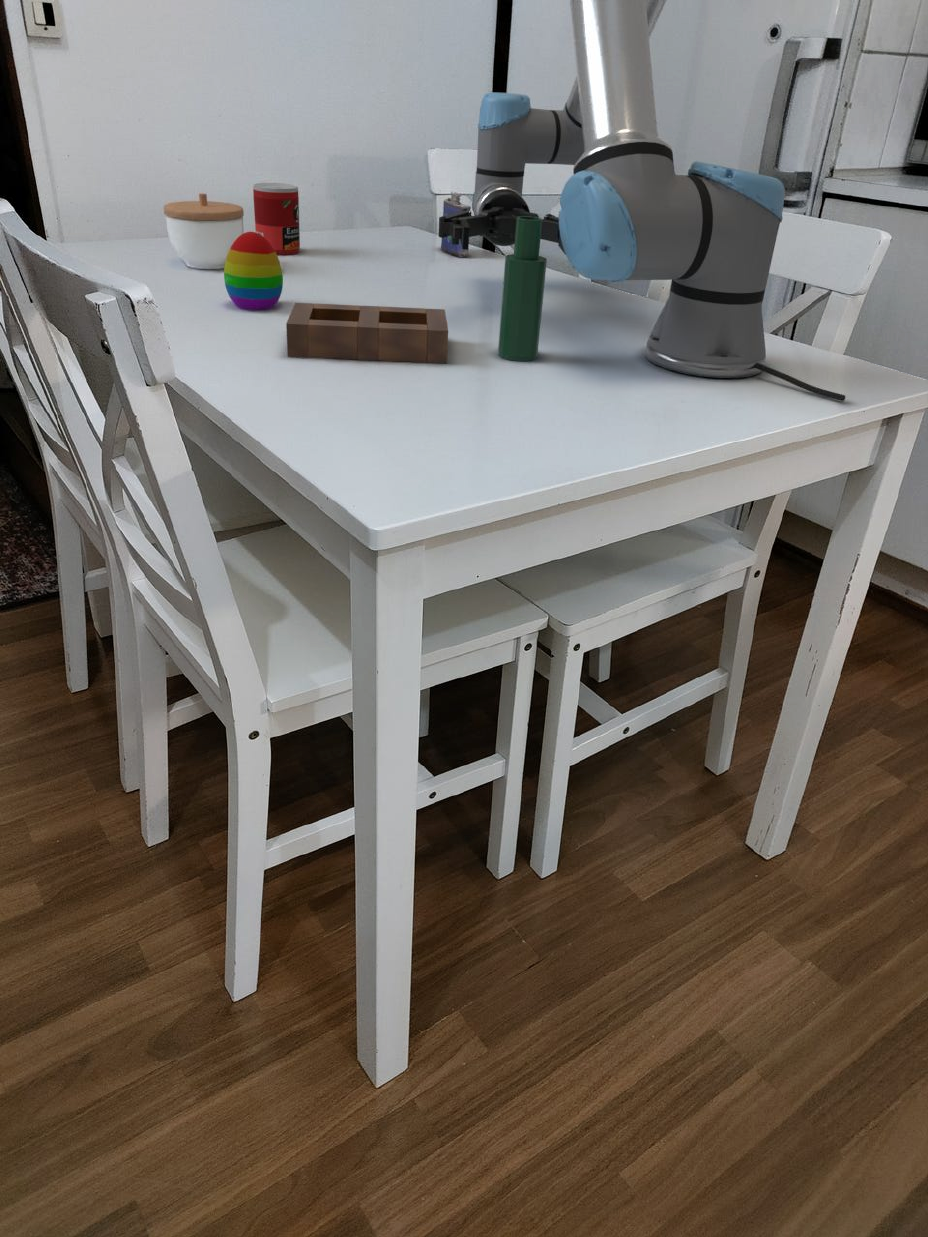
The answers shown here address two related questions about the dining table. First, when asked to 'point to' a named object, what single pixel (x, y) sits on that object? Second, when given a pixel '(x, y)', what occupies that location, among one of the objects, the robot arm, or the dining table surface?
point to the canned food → (278, 216)
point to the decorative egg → (253, 273)
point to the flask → (451, 207)
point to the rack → (367, 333)
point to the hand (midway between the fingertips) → (518, 241)
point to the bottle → (522, 293)
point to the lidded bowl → (203, 230)
